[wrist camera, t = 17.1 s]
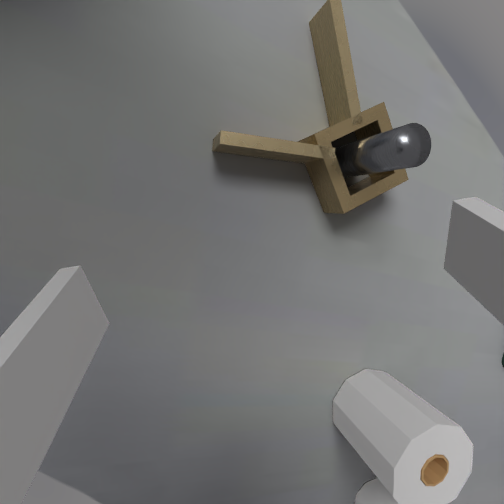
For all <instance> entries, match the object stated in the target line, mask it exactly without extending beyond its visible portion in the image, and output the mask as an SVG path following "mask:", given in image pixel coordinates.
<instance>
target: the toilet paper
mask: <svg viewBox="0 0 504 504" xmlns="http://www.w3.org/2000/svg"><path fill="white" fill-rule="evenodd" d="M333 423H334V425H335V426H336V427H337V428H338V429H339V431H340V432H341V433H342V434H343V436H344V437H345V438H346V439H347V441H348V442H349V443H350V444H351V446H352V447H353V448H354V449H355V450H356V452H357V453H358V454H359V455H360V457H361V458H362V459H363V460H364V462H365V463H366V464H367V465H368V467H369V468H370V469H371V470H372V472H373V473H374V474H375V475H376V476H377V478H378V479H379V480H380V481H381V483H382V484H383V485H384V486H385V488H386V489H387V490H388V491H389V493H390V494H391V495H392V496H393V497H394V499H395V500H396V501H397V502H398V503H399V504H448V503H450V502H451V501H453V500H454V499H456V498H457V496H458V494H459V492H460V491H461V489H462V487H463V486H464V484H465V482H466V481H467V479H468V477H469V476H470V474H471V472H472V459H473V444H472V442H471V441H470V439H469V438H468V436H467V435H466V433H465V432H464V431H463V429H462V428H461V426H459V425H458V424H456V423H455V422H454V421H452V420H451V419H450V418H448V417H447V416H446V415H444V414H443V413H441V412H440V411H439V410H437V409H436V408H435V407H433V406H432V405H430V404H429V403H428V402H426V401H425V400H424V399H422V398H421V397H419V396H418V395H417V394H415V393H414V392H413V391H411V390H410V389H409V388H407V387H406V386H404V385H403V384H402V383H400V382H399V381H398V380H396V379H395V378H393V377H392V376H391V375H389V374H388V373H387V372H385V371H379V370H372V369H364V370H362V371H361V372H359V373H357V374H355V375H353V376H351V377H349V378H348V379H346V380H345V382H344V383H343V385H342V386H341V388H340V390H339V391H338V393H337V395H336V396H335V398H334V399H333Z"/></svg>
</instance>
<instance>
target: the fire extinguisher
mask: <svg viewBox="0 0 504 504" xmlns="http://www.w3.org/2000/svg"><path fill="white" fill-rule="evenodd" d="M355 504H399V503H398V502H397V501H396V500H395V499H394V497H393V496H392V495H391V494H390V493H389V491H388V490H387V489H386V488H385V486H384V485H383V484H382V483H381V481H380V480H379V479H378V478H376V479H373V480H371V481H369V482H367V483H365V484H364V485H363V487H362V488H361V489H360V490H359V492H358V493H357V494H356V499H355Z"/></svg>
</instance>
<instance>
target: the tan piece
mask: <svg viewBox="0 0 504 504" xmlns="http://www.w3.org/2000/svg"><path fill="white" fill-rule="evenodd" d="M309 25H310V30H311V35H312V40H313V45H314V50H315V55H316V60H317V65H318V70H319V76H320V81H321V86H322V91H323V96H324V101H325V106H326V111H327V116H328V121H329V126H330V127H328V128H326V129H324V130H322V131H320V132H318V133H315V134H313V135H311V136H309V137H307V138H305V139H302V140H300V141H298V142H293V141H287V140H280V139H274V138H267V137H260V136H254V135H247V134H241V133H234V132H228V131H220V132H219V133H218V134H217V136H216V137H215V138H214V139H213V147H212V151H214V152H222V153H229V154H237V155H244V156H252V157H259V158H267V159H274V160H282V161H289V162H297V163H304V164H305V166H306V168H307V171H308V173H309V176H310V178H311V181H312V183H313V186H314V189H315V191H316V194H317V196H318V199H319V201H320V204H321V206H322V209H323V212H324V213H342V214H344V213H346V212H348V211H350V210H352V209H354V208H356V207H357V206H359V205H361V204H363V203H365V202H367V201H369V200H371V199H373V198H375V197H376V196H378V195H380V194H382V193H384V192H386V191H388V190H390V189H392V188H393V187H395V186H397V185H399V184H401V183H403V182H405V181H407V180H408V177H407V173H406V170H405V169H398V170H392V171H385V172H378V173H372V174H369V176H370V177H368V178H366V179H364V180H362V181H360V182H358V183H356V184H354V185H352V186H350V187H348V188H347V185H346V183H345V180H344V177H343V174H342V172H341V169H340V166H339V164H338V161H337V158H336V155H335V148H333V147H332V144H331V142H332V141H334V140H336V139H338V138H340V137H342V136H345V135H347V134H349V133H351V132H353V131H354V132H355V135H356V138H357V141H358V140H361V139H364V138H368V137H371V136H374V135H377V134H380V133H383V132H386V131H389V130H392V126H391V123H390V119H389V116H388V113H387V110H386V107H385V104H384V102H383V103H380V104H378V105H376V106H374V107H372V108H369V109H367V110H365V111H363V112H361V111H360V105H359V99H358V94H357V88H356V83H355V77H354V71H353V66H352V60H351V54H350V49H349V43H348V37H347V32H346V26H345V20H344V15H343V9H342V4H341V0H327V2H326V3H325V4H324V5H323V6H322V8H321V9H320V10H319V11H318V12H317V14H316V15H315V16H314V17H313V18H312V20H311V21H310V22H309Z"/></svg>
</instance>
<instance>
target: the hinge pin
mask: <svg viewBox="0 0 504 504" xmlns="http://www.w3.org/2000/svg"><path fill="white" fill-rule="evenodd" d="M430 150H431V138H430V135H429V133H428V131H427V130H426V128H425V127H423V126H422V125H420V124H417V123H410V124H407V125H404V126H401V127H398V128H395V129H392V130H389V131H386V132H383V133H380V134H377V135H374V136H371V137H368V138H364V139H361V140H358V141H355V142H352V143H349V144H346V145H343V146H340V147H337V148H335V155H336V158H337V161H338V164H339V166H340V169H341V172H342V174H343V177H344V178H345V177H352V176H358V175H365V174H372V173H378V172H385V171H392V170H398V169H405V168H411V167H417V166H419V165H421V164H423V163H424V162H425V161H426V159H427V158H428V156H429V154H430Z"/></svg>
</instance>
